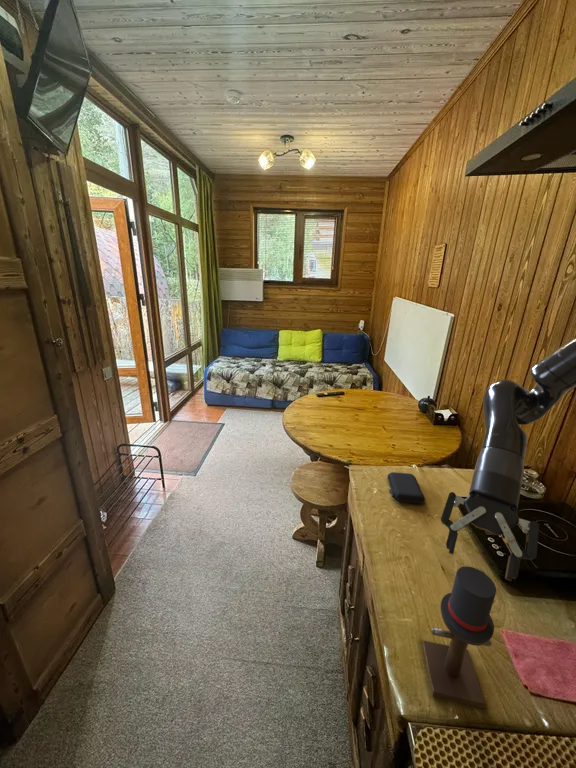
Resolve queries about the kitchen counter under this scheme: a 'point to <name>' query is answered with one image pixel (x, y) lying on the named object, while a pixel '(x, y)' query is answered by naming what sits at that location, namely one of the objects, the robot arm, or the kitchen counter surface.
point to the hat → (470, 605)
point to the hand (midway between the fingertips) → (478, 566)
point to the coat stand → (452, 669)
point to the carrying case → (405, 488)
